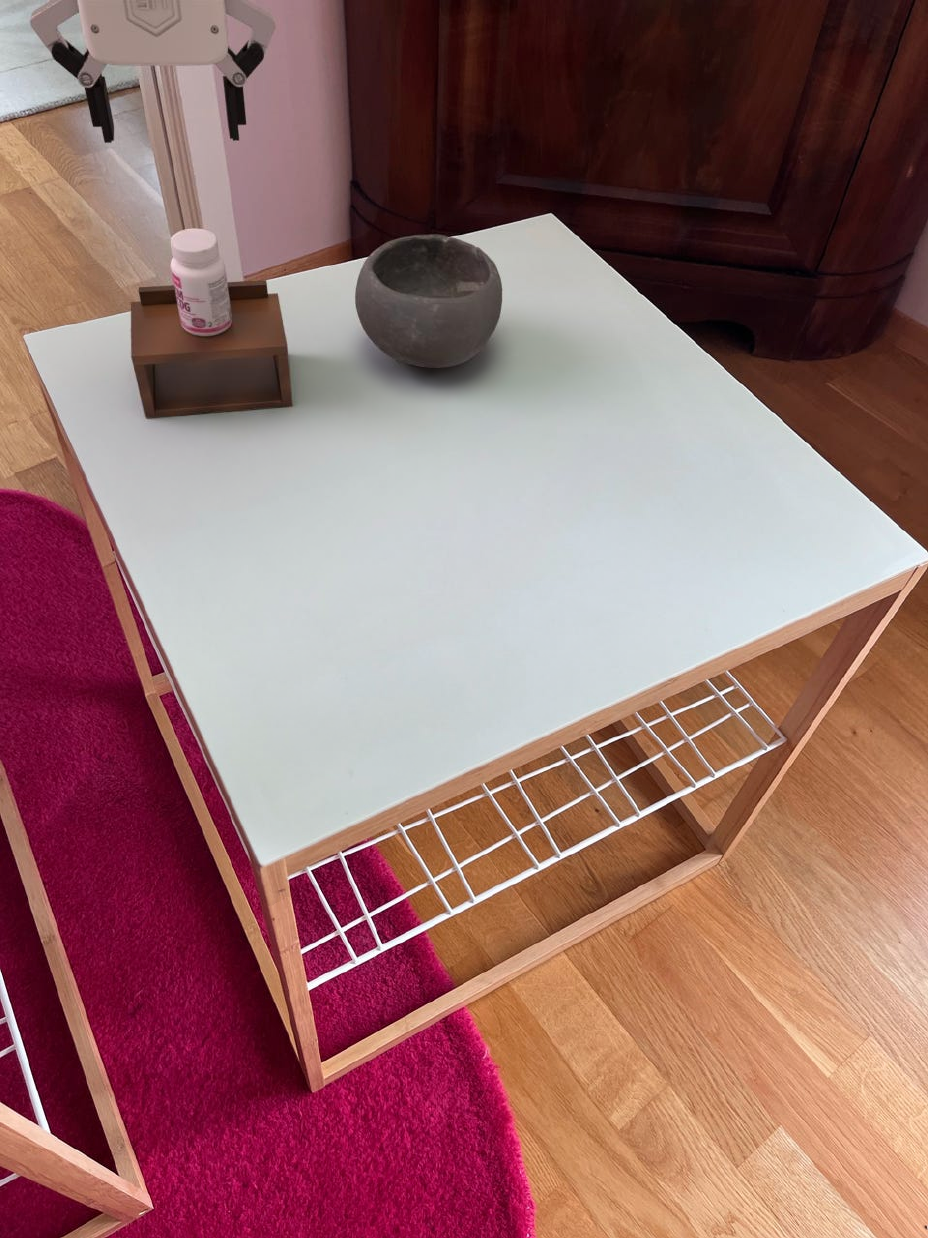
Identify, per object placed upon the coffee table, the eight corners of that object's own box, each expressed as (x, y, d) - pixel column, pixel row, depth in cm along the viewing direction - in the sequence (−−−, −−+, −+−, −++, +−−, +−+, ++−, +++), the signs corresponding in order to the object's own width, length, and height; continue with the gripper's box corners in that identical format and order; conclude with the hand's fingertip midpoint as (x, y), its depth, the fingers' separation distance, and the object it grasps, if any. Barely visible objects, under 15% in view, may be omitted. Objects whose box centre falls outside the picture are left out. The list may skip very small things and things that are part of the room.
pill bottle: (170, 327, 89) (154, 242, 82) (202, 303, 92) (188, 220, 85) (211, 343, 88) (198, 258, 81) (242, 319, 90) (232, 235, 84)
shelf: (145, 418, 91) (127, 341, 84) (144, 363, 96) (127, 287, 90) (292, 406, 94) (286, 331, 87) (283, 353, 99) (276, 278, 93)
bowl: (383, 301, 107) (383, 215, 99) (510, 329, 105) (521, 243, 97) (335, 374, 97) (331, 286, 90) (474, 407, 95) (483, 319, 88)
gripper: (-13, -124, 59) (55, 157, 72) (269, -114, 62) (286, 153, 75) (-3, -153, 64) (60, 116, 76) (259, -142, 67) (277, 113, 80)
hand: (172, 134), depth 76 cm, fingers open, 9 cm apart
